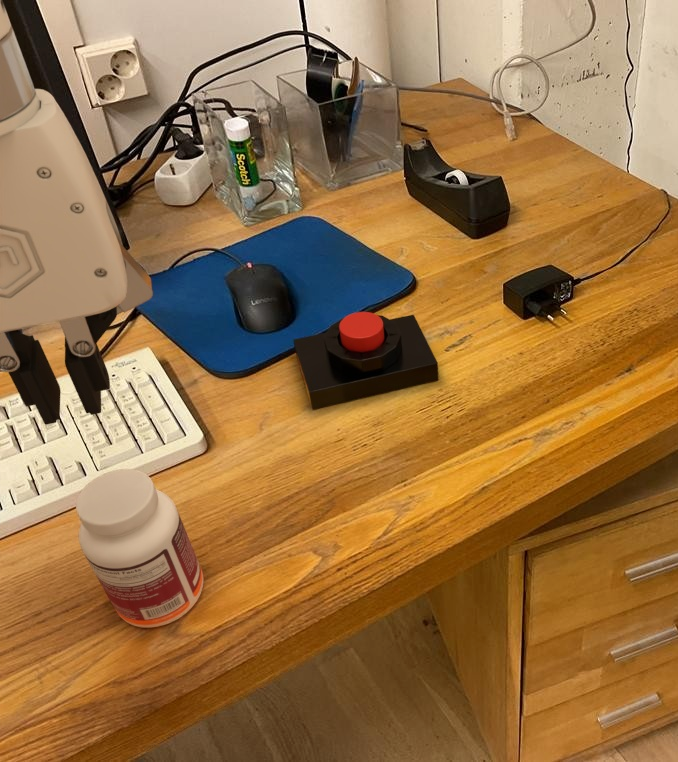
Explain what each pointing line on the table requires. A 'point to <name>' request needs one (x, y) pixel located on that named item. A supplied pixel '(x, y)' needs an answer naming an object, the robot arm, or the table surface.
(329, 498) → the table surface
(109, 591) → the pill bottle
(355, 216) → the table surface
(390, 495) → the table surface
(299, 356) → the button box
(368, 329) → the button
